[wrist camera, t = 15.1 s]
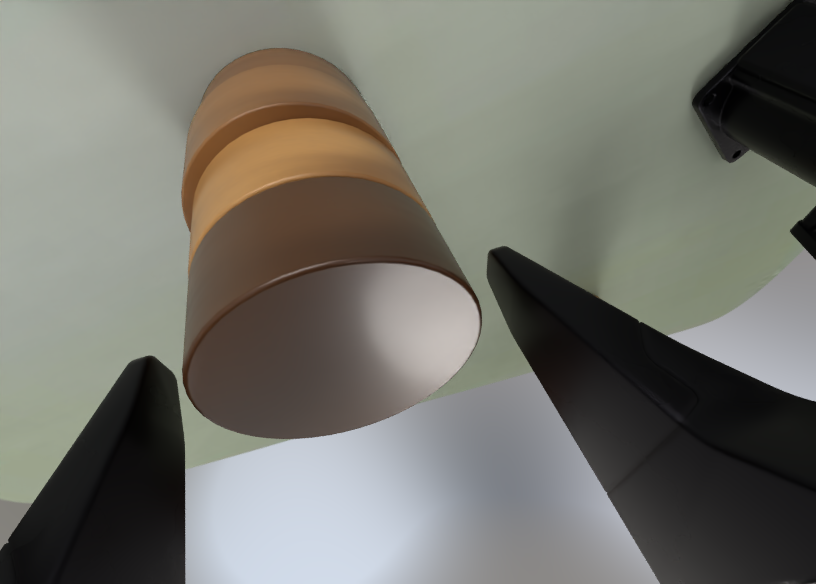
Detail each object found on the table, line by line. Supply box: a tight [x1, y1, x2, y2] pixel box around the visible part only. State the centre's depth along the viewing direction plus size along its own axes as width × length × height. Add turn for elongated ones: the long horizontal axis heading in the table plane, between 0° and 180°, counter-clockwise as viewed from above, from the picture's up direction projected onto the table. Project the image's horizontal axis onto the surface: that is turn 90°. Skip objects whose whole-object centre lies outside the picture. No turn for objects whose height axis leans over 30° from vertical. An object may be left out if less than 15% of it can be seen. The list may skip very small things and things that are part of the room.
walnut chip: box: [182, 176, 482, 439], centre depth 9 cm, size 6×6×2 cm
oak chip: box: [188, 118, 436, 279], centre depth 11 cm, size 6×6×2 cm
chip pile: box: [181, 48, 401, 233], centre depth 13 cm, size 6×6×5 cm
